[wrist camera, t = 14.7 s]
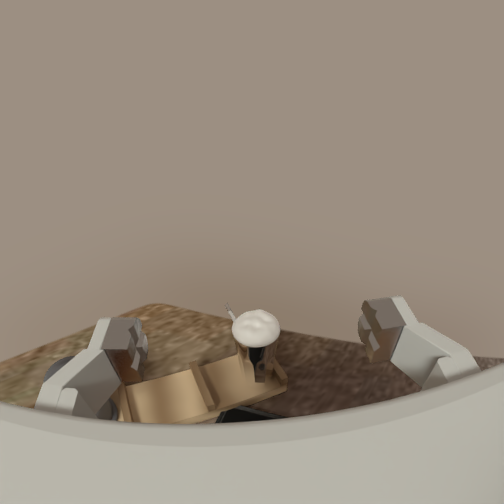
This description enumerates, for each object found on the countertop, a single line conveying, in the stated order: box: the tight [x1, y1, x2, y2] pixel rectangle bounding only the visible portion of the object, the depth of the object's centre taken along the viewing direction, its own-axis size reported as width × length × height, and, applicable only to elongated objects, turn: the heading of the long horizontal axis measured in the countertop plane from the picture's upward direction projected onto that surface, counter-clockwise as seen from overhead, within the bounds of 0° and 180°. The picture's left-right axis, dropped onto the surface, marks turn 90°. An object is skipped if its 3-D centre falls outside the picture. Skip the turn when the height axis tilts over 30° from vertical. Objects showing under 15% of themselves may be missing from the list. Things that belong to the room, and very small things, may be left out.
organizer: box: [110, 355, 288, 424], centre depth 31 cm, size 26×6×3 cm, turn 114°
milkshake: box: [225, 303, 280, 389], centre depth 32 cm, size 5×5×10 cm
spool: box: [44, 356, 118, 421], centre depth 26 cm, size 6×6×7 cm
